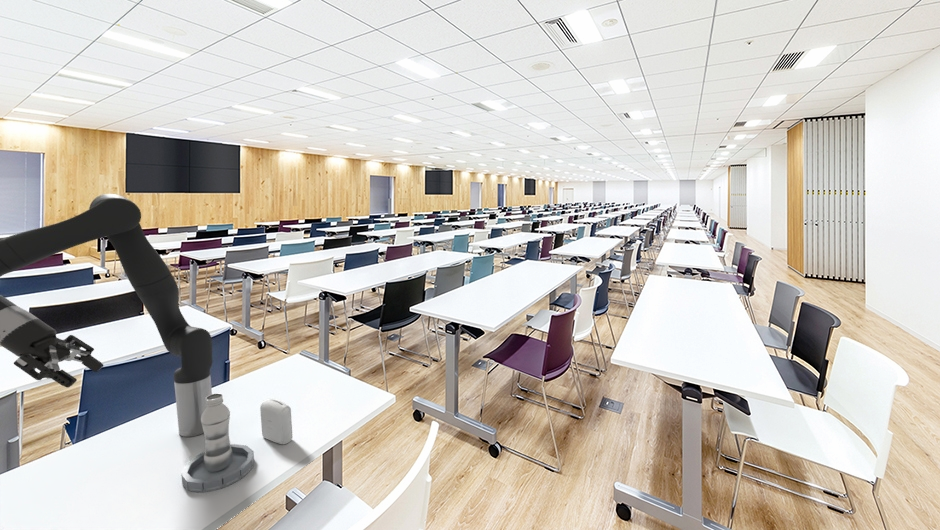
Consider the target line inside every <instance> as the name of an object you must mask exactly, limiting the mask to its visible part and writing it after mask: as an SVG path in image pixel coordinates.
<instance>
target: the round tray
mask: <svg viewBox="0 0 940 530" xmlns="http://www.w3.org/2000/svg"><path fill="white" fill-rule="evenodd" d="M230 446H231V449H232V452H233V457H232V461H231V463H230V464H229V465H228V466H227V467H226V468H224V469H222V470H220V471H216V472H209V471H208V470H206V469H205V466H204V455H205V451H204V452H202V453H200V454H198V455H197V456H195V457H193V458H192V459H191V460H190V461H188V462H187V463H186V464H185V465H184V468H183V469H182V472H181V475H180V476H181V484H182V486H183V488H184V489H186V490H187V491H189V492H193V493H207V492H213V491H217V490H220V489H221V490H222V489H225V488H226V487H229V486H231V485H233V484H235V483H237V482H239V481H241V480H242V479H243V478H245V477H246V476H247V475H248V474H249V473H250V471H251V470H252V469H253V467H254V465H255V455H254V453H255V452H254V450H253V449H252V448H250V447H249V446H248V445H247V444H246V445H244V444H235V443H234V444H230Z"/></svg>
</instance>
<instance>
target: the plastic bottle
mask: <svg viewBox="0 0 940 530" xmlns="http://www.w3.org/2000/svg"><path fill="white" fill-rule="evenodd" d="M206 406H207V408H206V409H205V410H204V412H203V414H202V417H201V423H202V427H203V431H204V433H203V435H204V442H205V443H204V452H205V455H204V466H205V469H206V470H208V471H209V472H216V471H220V470H222V469H224V468H226V467H227V466H228V465H229V464H230V463H231V461H232V457H233V452H232V449H231V446H230V445H231V441H230V434H229V433H230V419H231V418H230V416H231V411H230V409H229V407H228V406H227V405H226V404H224V399H223V394H222V393H217V392H216V393H212V395H209V396H207V397H206Z"/></svg>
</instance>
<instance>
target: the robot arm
mask: <svg viewBox="0 0 940 530" xmlns="http://www.w3.org/2000/svg"><path fill="white" fill-rule="evenodd" d="M141 219H142V211H141V209H140V207H138V205H137V204H136V203H134V202H133V201H132V200H131V199H128V198H127V197H125V196H123V195H119V194H115V193H104V194H100V195H98V196H96V197H95V198H94V199H93V200H92V201H91V203H90V204H89V209H88V210H86V211H83V212H82V213H80V214H78V215H75V216H72V217H70V218H69V219H65V220H63V221H62V220H61V221H59V222H57V223H53V224H49V225H46V226H42V227H41V226H40V227H38V228H33V229H29V230H26V231H22V232H19V233H16V234H12V235H9V236H6V237H4V238H1V239H0V278H1V277H2V276H4V275H6V274H10V273H12V272H15V271H18V270H20V269H22V268H24V267H27V266H30V265H33V264H34V263H37V262H39V261H42V260H44V259H46V258H49V257H51V256H54V255H56V254H59V253H61V252H63V251H66V250H69V249H71V248H74V247H76V246H79V245H82V244H86V243H89V242H92V241H96V240H99V239H102V238H107V239H108V241H109V242H110V244H111V246H113V248H114V250H115V252H116V254H117V257H118V260H119V262H120V264H121V267H122V268H123V272H124V273H125V275H126V277H127V278H128V281H129V283H130V285H131V286H132V288H133V290H134V291H135V293H136V295H137V297H138V299H139V300H140V301H141V302H142V305H143V306H144V307H145V309H146V311H147V312H148V314H149V316H150V318H151V319H152V320H153V323H154V324H155V326H156V328H157V331H158V333H159V335H160V338H161V340H162V343H163V346H164V347H165V349H166V350H167V352H168V353H170V354H171V355H173V356H175V357H177V356H178V357H180V359H181V365H180V366H181V367H179V368H177V369H176V370H174V372H173V382H174V392H175V394H174V395H175V404H176V405H175V406H176V414H177V427H178V434H179V435H180V437H186V438H187V437H188V438H191V437H195V436H199V435H202V434H203V435H204V431H203V427H202V423H201V417H202V414H203V412H204V410H205V409H206V408H207V406H206V397H207V396H209V395H212V394H213V392H212V391H213V390H212V389H213V388H212V379H211V377H212V376H211V369H212V366H213V357H214V356H213V339H212V336H211V334H210V331H208V330H207V329H204V328H201V327H196V326H191V325H190V324H189V323H188V322H187V320H186V318H185V317H184V315H183V314H182V312H181V310H180V306H179V305H180V304H179V302H180V301H179V300H180V294H179V293H180V292H179V287H178V284H177V281H176V280H175V277H174V275H173V274H172V272H171V270H170V268H169V267H168V266H167V264H166V262H165V261H164V259H162V257H161V256H160V254H159V253H158V252H157V250H156V249H155V248H154V247H153V245H152V244H151V243H150V241H149V240H148V238H147V236H146V234H145V233H144V230H143V228H142V226H141V223H140V222H141ZM0 346H1V347H2V348H4V349H5V350H8V352H11V353H12V354H13V355H15V356H17V359H16V360H15V361H14V362H13V365H14V366H16V367H17V368H19V369H20V370H22V371H23V372H24V373H26V374H27V375H29V376H30V377H32V378H33V379H34V380H36V381H41V380H43V379H48V380H49V379H51V380H53V381H55V382H56V383H57V384H59V385H61V386H62V387H64V388H70V387H71V386H73V385H74V384H75V383H76V382H77V380H78V379H77V378H76V377H75V376H73V375H71V374H70V373H68V372H67V371H66V370H64V369H61V368H60V365H59V363H60V362H64V361H67V362H71V361H74V362H79V363H81V364H82V365H83V366H85V367H86V368H88V369H89V370H91V372H94V373H97V372H98V371H100V370H101V369H103V367H104V363H102V362H101V361H100V360H98V359H97V358H95V357H94V356H92V354H93V352H94V351H95V349H94V347H92V346H90V345H89V344H87V343H86V342H84V341H83V340H81V339H79V338H78V337H77V336H75V335H72V334H69V335H68V336H67V337H66V338H65V339H61V338H59V337H57V330H56V329H55V328H53V327H52V326H50V325H49V324H47V323H45V322H44V321H42V320H41V319H40V318H38V317H37V316H36V315H34V314H32V313H31V312H30V311H28V310H26V309H24V308H22V307H20V306H18V305H17V304H15V303H13V302H12V301H10V299H8V298H6V297H5V296H4V295H2V294H0ZM81 348H83V349H81ZM36 369H37V370H38V371H39V372H38V371H36Z"/></svg>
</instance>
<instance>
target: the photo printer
mask: <svg viewBox="0 0 940 530" xmlns="http://www.w3.org/2000/svg"><path fill="white" fill-rule="evenodd" d="M259 409H260V410H259V411H260V424H261V435H262V437H263V438H264V439H266V440H269V441H271V442H273V443H276V444H278V445H279V444H280V445H286V444H288V443H290V442H292V439H293V424H292V410H291V407H290V406H289V404H287V403H286V402H284V401H282V400H280V399H278V398H277V399H276V398H267V399H266V400H263V401H262V402H261V403H260V408H259Z"/></svg>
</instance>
